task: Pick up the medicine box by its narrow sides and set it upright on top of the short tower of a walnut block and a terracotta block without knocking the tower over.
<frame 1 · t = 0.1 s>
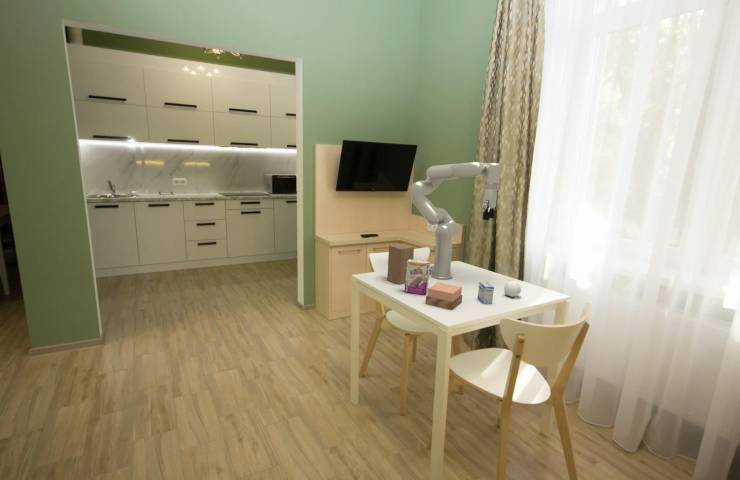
hand: (488, 218, 202), 37 cm above the table, tool pointing down, fingers open, 9 cm apart
tower top: (444, 295, 178), point 4 cm above the table, touching tower bottom
wooden block: (399, 281, 210), on the table
candy bar box: (416, 293, 192), on the table
tower bottom: (443, 303, 179), on the table, touching tower top
ball: (511, 296, 192), on the table
medicine box: (484, 301, 183), on the table
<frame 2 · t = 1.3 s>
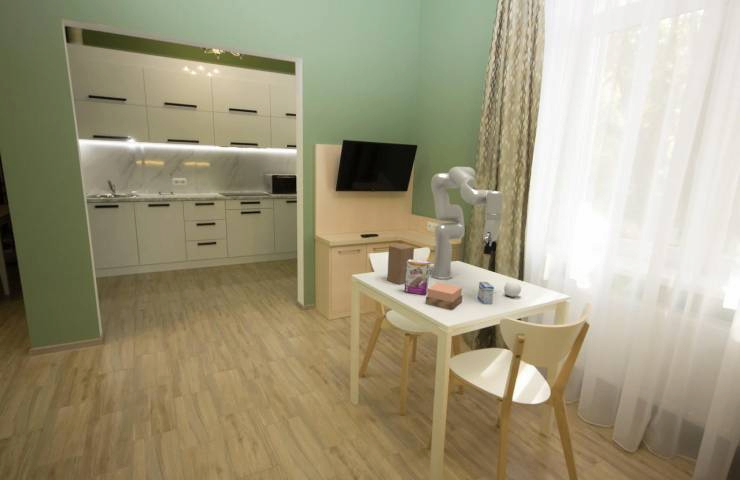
hand: (490, 252, 182), 23 cm above the table, tool pointing down, fingers open, 9 cm apart
nothing on the table moved.
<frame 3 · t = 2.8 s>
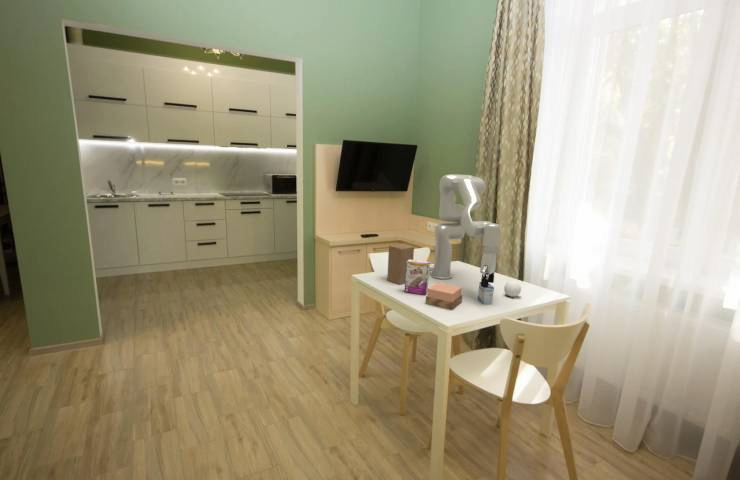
hand: (487, 284, 181), 9 cm above the table, tool pointing down, fingers open, 9 cm apart
medicine box: (484, 301, 183), on the table, touching gripper
everything else where it was.
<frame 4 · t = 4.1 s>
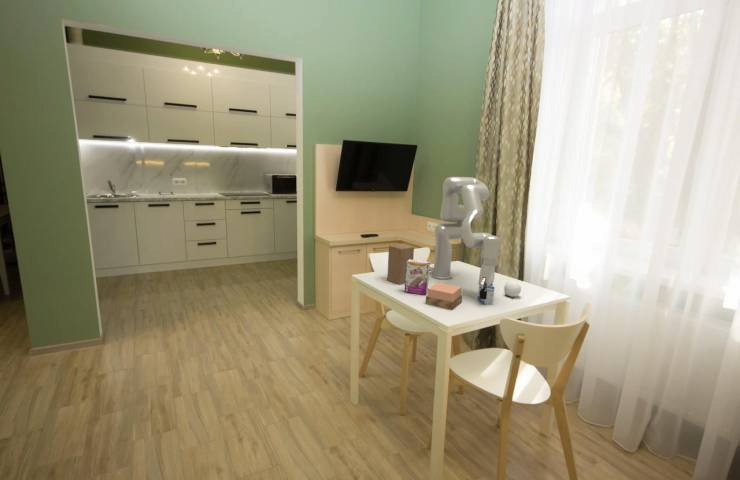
hand: (485, 296, 182), 3 cm above the table, tool pointing down, fingers closed on medicine box, 9 cm apart
medicine box: (485, 301, 183), on the table, touching gripper
everything else where it was.
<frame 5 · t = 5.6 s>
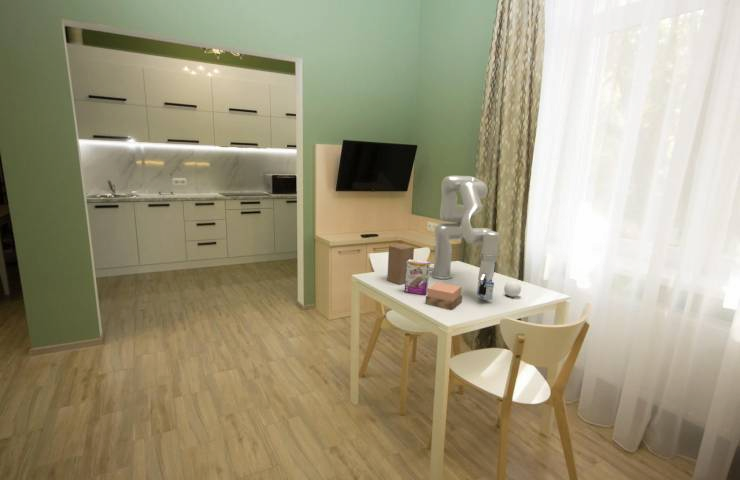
hand: (484, 291, 183), 5 cm above the table, tool pointing down, fingers closed on medicine box, 9 cm apart
tower top: (444, 295, 178), point 4 cm above the table
tower bottom: (443, 303, 179), on the table
medicine box: (484, 297, 183), point 2 cm above the table, touching gripper
everything else where it was.
when the fingers open (12 cm above the table, at t = 11.3 s): medicine box drops 1 cm, point 7 cm above the table.
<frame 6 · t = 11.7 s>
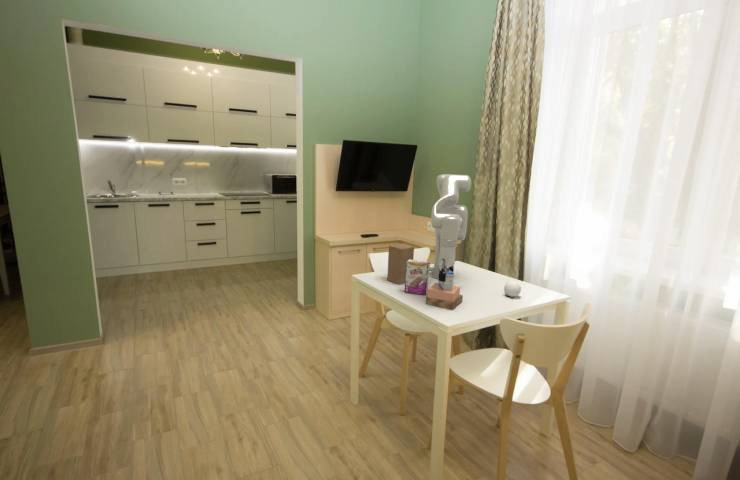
hand: (445, 278, 176), 12 cm above the table, tool pointing down, fingers open, 9 cm apart
tower top: (443, 296, 178), point 3 cm above the table, touching tower bottom
tower bottom: (444, 304, 179), on the table, touching tower top
medicine box: (445, 288, 177), point 7 cm above the table, touching gripper
everything else where it was.
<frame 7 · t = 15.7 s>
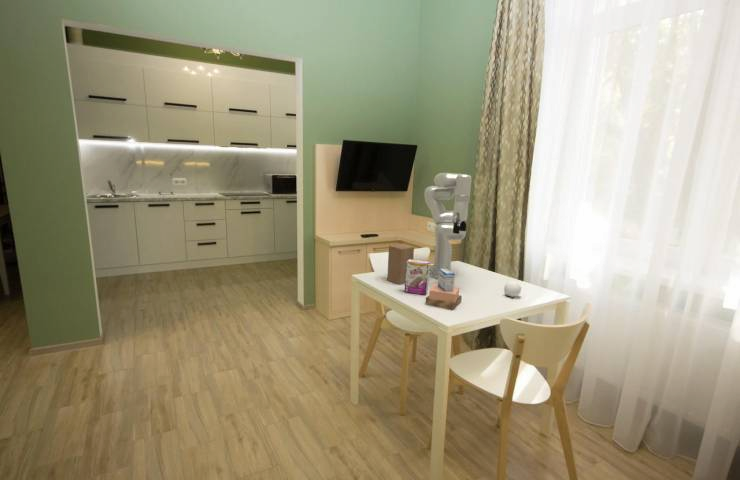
hand: (459, 232, 196), 30 cm above the table, tool pointing down, fingers open, 9 cm apart
tower top: (444, 296, 178), point 3 cm above the table, touching medicine box, tower bottom
medicine box: (445, 289, 177), point 7 cm above the table, touching tower top
everything else where it was.
at the end: medicine box 0.3 cm off-centre on the tower top, point 3.8 cm above the tower top's base; medicine box tilted 0°; tower top moved 0.8 cm from its start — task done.
